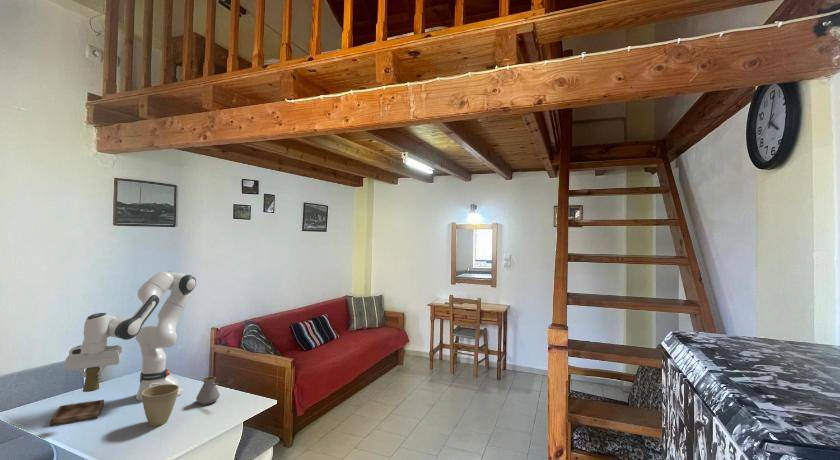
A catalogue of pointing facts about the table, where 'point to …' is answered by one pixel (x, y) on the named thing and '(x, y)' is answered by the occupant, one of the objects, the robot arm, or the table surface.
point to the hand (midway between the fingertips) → (92, 376)
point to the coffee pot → (209, 391)
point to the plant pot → (159, 403)
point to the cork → (91, 379)
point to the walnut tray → (77, 412)
